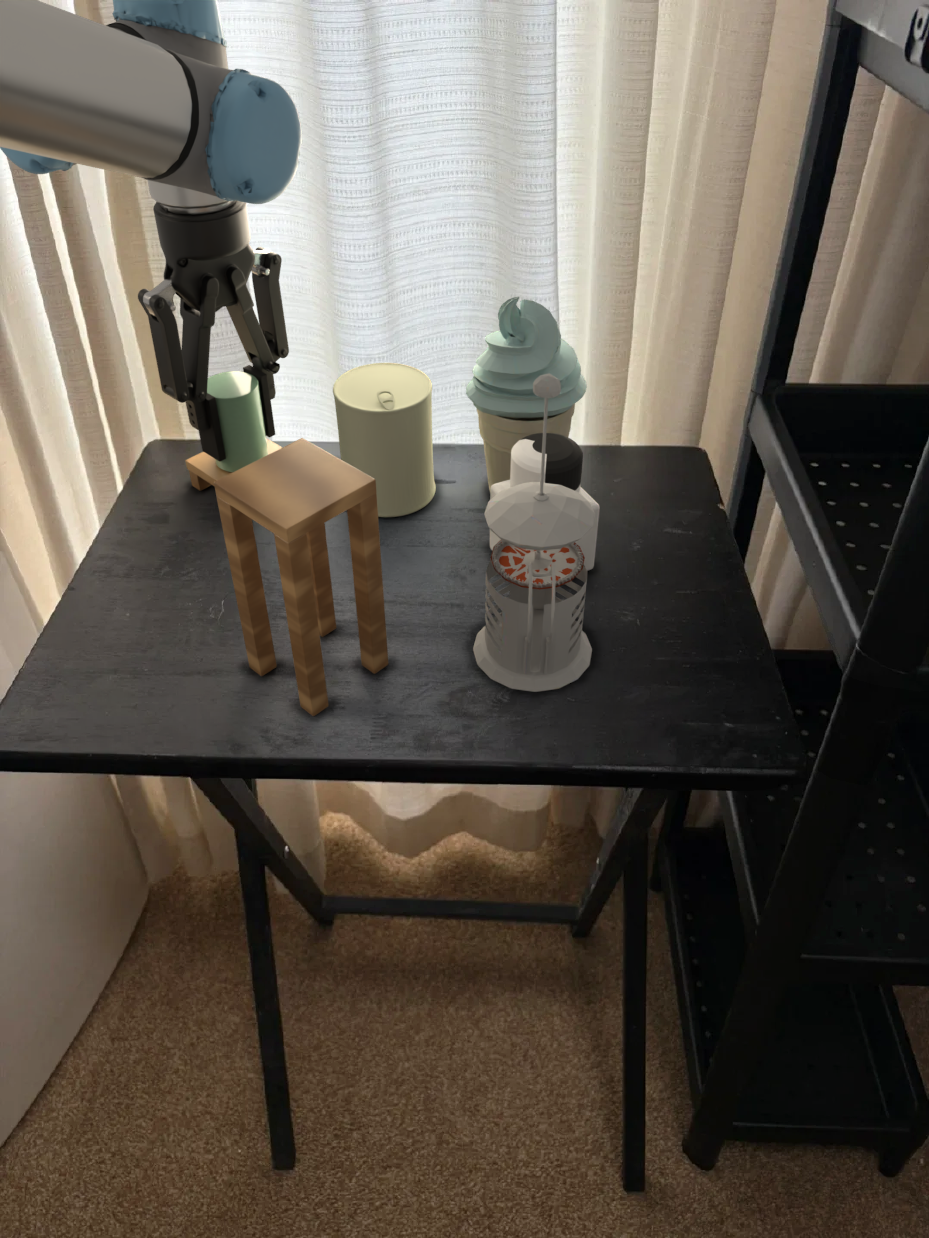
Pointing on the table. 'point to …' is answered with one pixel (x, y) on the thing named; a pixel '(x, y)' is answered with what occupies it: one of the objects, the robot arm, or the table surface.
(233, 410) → the green cylinder
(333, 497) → the front shelf
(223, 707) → the table surface
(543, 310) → the ice cream cone
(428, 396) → the can
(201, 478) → the stand
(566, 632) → the french press
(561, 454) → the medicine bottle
